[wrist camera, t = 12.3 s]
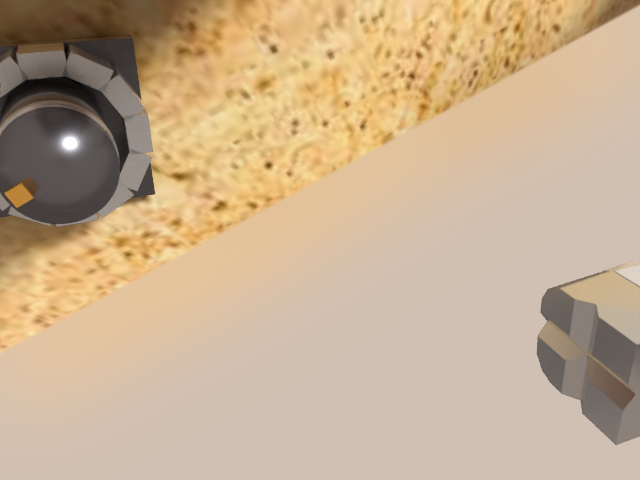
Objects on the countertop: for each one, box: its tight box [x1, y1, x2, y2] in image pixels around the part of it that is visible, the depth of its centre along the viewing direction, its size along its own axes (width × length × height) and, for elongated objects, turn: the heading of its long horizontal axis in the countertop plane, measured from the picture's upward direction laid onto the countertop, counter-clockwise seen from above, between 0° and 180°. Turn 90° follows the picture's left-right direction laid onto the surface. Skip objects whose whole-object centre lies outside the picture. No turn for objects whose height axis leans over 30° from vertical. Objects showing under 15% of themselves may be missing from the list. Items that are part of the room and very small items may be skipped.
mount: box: [0, 35, 155, 227], centre depth 32 cm, size 9×9×4 cm
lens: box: [0, 77, 120, 224], centre depth 29 cm, size 5×5×8 cm
